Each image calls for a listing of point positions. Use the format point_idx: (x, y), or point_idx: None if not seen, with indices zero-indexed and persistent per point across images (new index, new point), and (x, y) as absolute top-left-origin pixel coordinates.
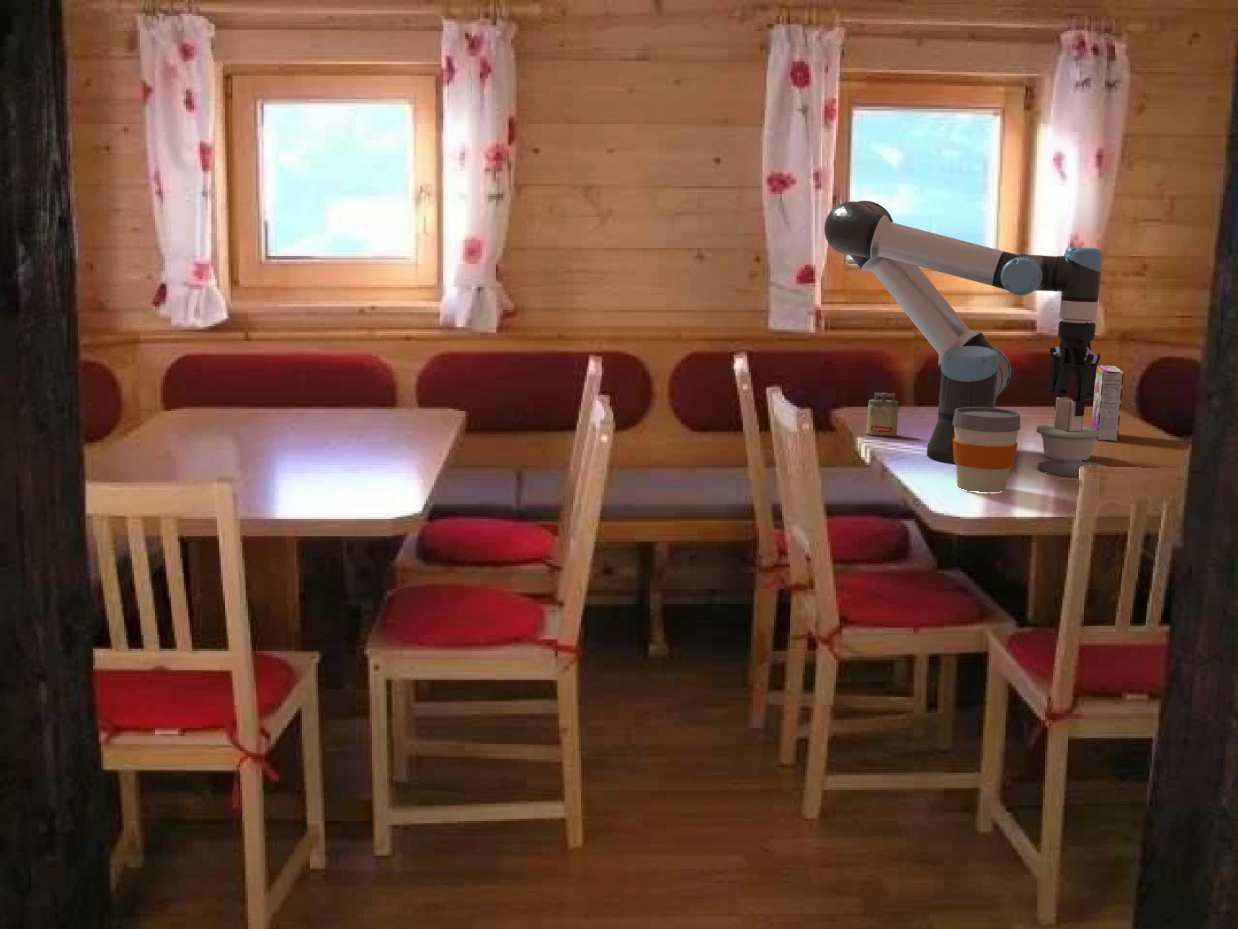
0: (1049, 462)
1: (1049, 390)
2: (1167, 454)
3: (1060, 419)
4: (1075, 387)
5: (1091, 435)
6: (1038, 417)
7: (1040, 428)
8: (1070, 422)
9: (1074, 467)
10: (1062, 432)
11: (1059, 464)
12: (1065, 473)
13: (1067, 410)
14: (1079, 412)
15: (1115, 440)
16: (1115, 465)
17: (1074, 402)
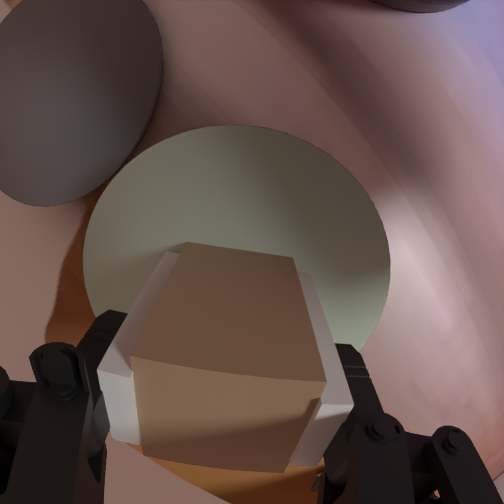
0: (130, 44)
1: (460, 433)
2: (170, 461)
3: (249, 278)
4: (43, 487)
5: (86, 284)
6: (493, 454)
7: (331, 180)
8: (163, 274)
9: (42, 77)
10: (176, 196)
11: (92, 58)
12: (16, 6)
13: (171, 309)
14: (94, 329)
15: (320, 473)
16: (77, 281)
17: (102, 369)
